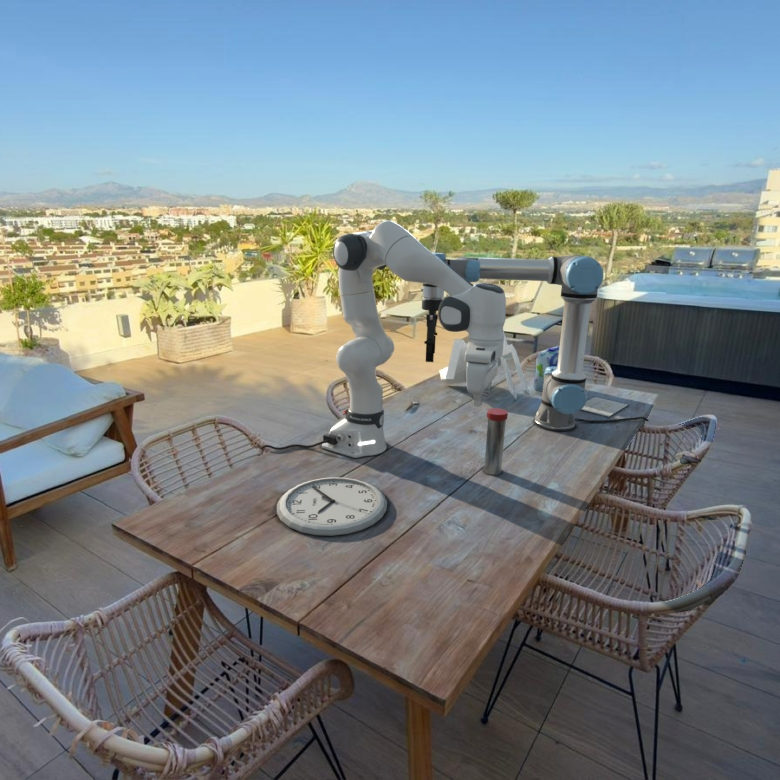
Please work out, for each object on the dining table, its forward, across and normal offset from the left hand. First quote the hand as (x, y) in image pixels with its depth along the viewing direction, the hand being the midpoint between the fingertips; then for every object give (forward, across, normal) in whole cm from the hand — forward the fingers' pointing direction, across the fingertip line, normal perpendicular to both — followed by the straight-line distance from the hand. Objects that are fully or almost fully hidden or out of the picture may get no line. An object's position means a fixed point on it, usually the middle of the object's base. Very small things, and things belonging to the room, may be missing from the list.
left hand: (481, 400), depth 137 cm
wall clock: (+30, +18, -35) cm, 49 cm away
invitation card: (+30, -104, +31) cm, 112 cm away
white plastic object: (+30, -101, -22) cm, 108 cm away
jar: (+30, -22, 0) cm, 37 cm away
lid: (+10, -22, 0) cm, 24 cm away
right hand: (+2, -47, -30) cm, 55 cm away
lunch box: (+30, -120, +9) cm, 124 cm away
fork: (+30, -69, -44) cm, 87 cm away
